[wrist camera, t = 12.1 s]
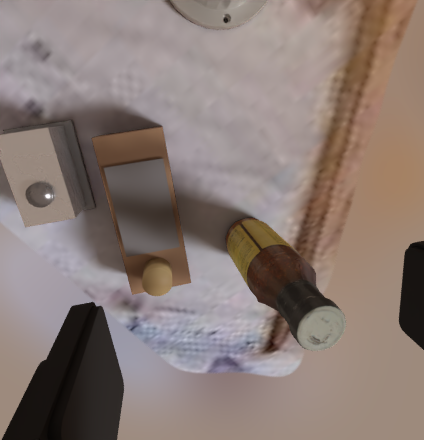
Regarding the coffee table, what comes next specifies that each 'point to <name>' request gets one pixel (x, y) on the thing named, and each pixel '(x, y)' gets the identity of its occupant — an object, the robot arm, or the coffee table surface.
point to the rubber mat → (75, 153)
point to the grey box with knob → (42, 175)
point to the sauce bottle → (284, 283)
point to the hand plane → (143, 208)
